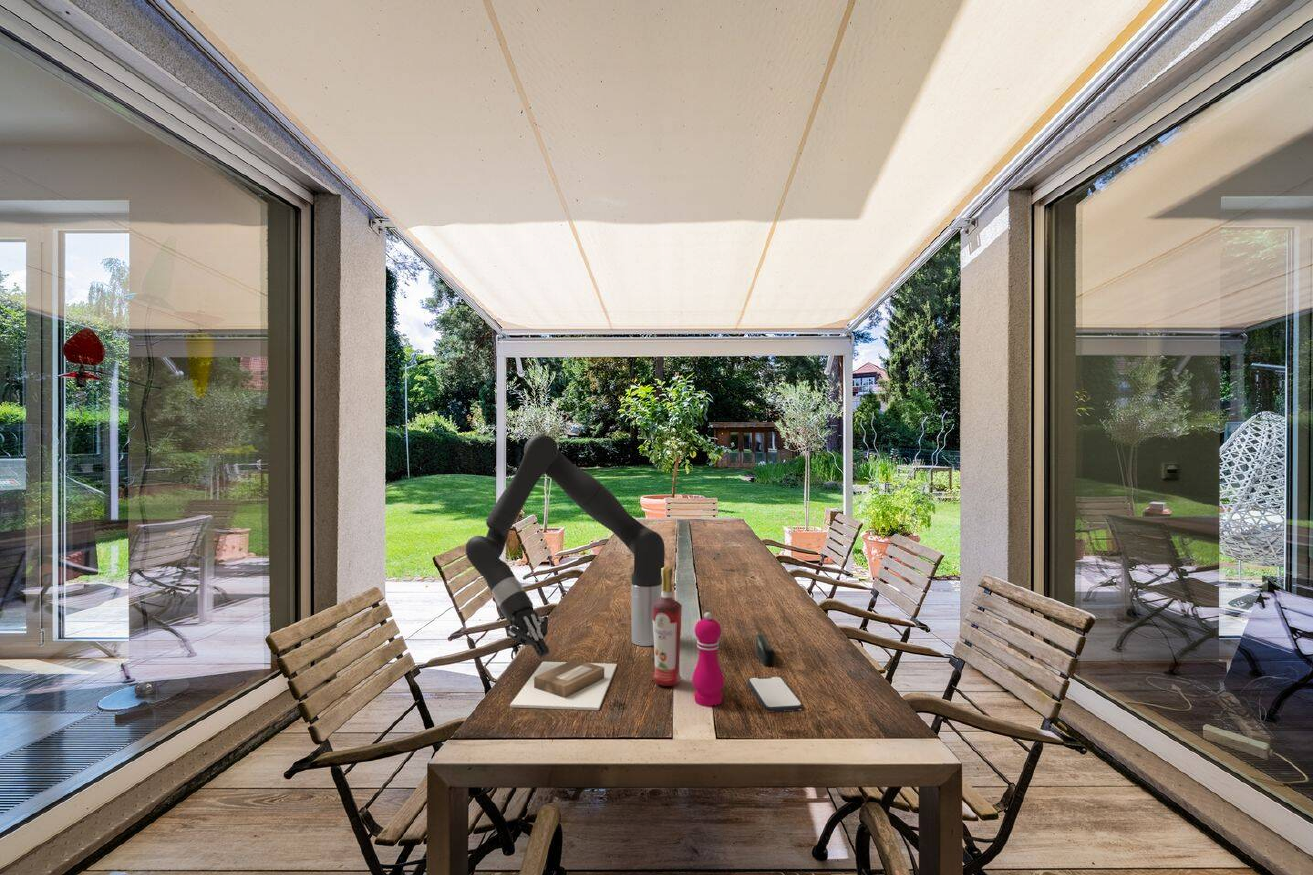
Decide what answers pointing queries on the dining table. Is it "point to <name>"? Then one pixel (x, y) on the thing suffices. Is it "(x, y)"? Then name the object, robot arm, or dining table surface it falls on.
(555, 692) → the slab
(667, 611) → the liquor
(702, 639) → the pepper mill
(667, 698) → the dining table surface
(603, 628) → the dining table surface
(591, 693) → the mat
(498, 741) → the dining table surface
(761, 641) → the mobile phone
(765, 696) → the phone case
